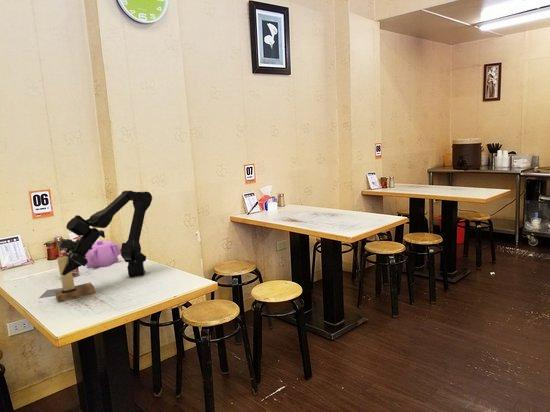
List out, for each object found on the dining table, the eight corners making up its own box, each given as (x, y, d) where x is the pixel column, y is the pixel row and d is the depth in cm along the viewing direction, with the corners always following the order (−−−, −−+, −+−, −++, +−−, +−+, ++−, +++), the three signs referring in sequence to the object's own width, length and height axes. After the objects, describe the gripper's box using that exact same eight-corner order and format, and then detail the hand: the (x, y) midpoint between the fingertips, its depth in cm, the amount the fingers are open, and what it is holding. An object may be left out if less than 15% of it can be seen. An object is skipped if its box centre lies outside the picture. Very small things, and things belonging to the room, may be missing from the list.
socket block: (91, 288, 178) (90, 282, 177) (95, 293, 171) (94, 286, 171) (56, 297, 171) (54, 290, 170) (58, 303, 164) (57, 296, 163)
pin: (73, 286, 172) (67, 255, 170) (74, 288, 169) (69, 257, 167) (62, 288, 170) (56, 257, 168) (64, 291, 166) (58, 259, 164)
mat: (71, 287, 182) (71, 286, 182) (64, 295, 173) (64, 294, 173) (47, 290, 181) (46, 290, 181) (38, 299, 171) (38, 298, 171)
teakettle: (93, 270, 206) (89, 246, 204) (80, 265, 218) (76, 242, 216) (126, 261, 218) (122, 238, 216) (111, 257, 230) (108, 235, 228)
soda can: (73, 279, 195) (68, 252, 193) (59, 279, 196) (54, 252, 194) (82, 274, 202) (78, 248, 200) (69, 274, 203) (65, 248, 201)
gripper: (66, 227, 175) (41, 258, 171) (73, 233, 160) (46, 268, 156) (89, 241, 181) (65, 272, 177) (98, 249, 165) (72, 282, 161)
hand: (62, 273), depth 167 cm, fingers closed on pin, 4 cm apart
